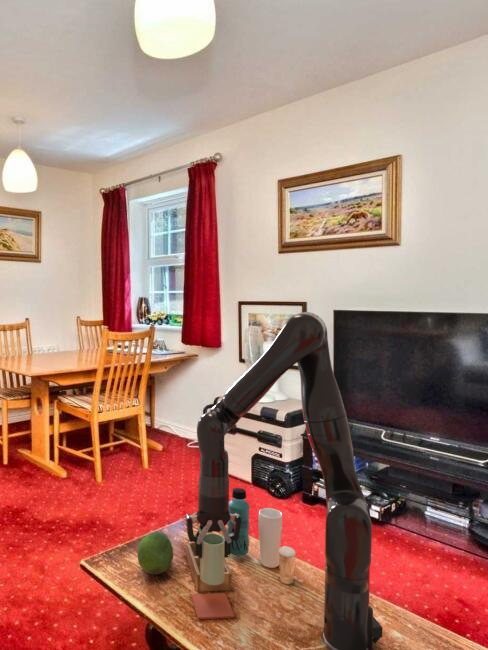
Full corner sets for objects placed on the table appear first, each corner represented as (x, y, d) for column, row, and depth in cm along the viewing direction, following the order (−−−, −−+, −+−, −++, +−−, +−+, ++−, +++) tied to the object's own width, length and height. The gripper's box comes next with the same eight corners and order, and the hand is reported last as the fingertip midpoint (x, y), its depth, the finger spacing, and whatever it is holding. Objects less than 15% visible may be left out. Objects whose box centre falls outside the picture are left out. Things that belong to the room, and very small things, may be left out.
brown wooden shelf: (216, 555, 147) (216, 540, 147) (231, 590, 129) (231, 573, 129) (186, 556, 146) (186, 541, 146) (197, 591, 129) (197, 575, 128)
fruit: (147, 551, 148) (147, 519, 148) (179, 556, 146) (179, 523, 145) (131, 579, 134) (132, 543, 134) (167, 585, 131) (167, 548, 131)
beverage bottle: (222, 552, 148) (223, 487, 147) (240, 548, 151) (241, 483, 150) (235, 563, 142) (236, 495, 142) (253, 558, 145) (254, 491, 144)
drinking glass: (282, 571, 138) (283, 519, 138) (258, 568, 140) (258, 516, 139) (280, 558, 145) (281, 508, 144) (257, 556, 146) (258, 506, 146)
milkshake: (291, 589, 130) (292, 552, 130) (274, 580, 134) (275, 544, 134) (301, 583, 133) (302, 546, 132) (284, 574, 137) (285, 539, 137)
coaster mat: (225, 594, 127) (225, 592, 127) (234, 617, 118) (234, 615, 118) (191, 596, 127) (191, 594, 127) (197, 619, 118) (197, 617, 118)
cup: (221, 570, 126) (221, 532, 125) (227, 584, 120) (227, 544, 119) (198, 571, 125) (198, 533, 125) (202, 585, 119) (203, 545, 119)
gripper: (187, 497, 117) (186, 565, 118) (246, 495, 118) (245, 563, 119) (182, 484, 125) (181, 549, 125) (238, 483, 126) (236, 547, 126)
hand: (212, 556), depth 122 cm, fingers closed on cup, 6 cm apart
